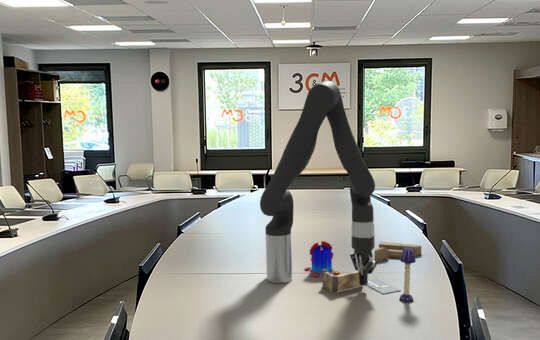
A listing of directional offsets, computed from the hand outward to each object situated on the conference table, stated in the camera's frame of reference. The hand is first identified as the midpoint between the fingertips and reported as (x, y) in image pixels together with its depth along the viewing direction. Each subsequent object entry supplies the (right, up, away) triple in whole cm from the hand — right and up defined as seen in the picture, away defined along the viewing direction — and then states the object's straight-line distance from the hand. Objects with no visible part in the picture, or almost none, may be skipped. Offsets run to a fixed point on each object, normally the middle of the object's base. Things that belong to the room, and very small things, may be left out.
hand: (363, 284), depth 161 cm
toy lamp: (+12, -3, -9) cm, 15 cm away
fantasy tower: (-12, -1, +22) cm, 25 cm away
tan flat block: (-11, -2, +3) cm, 12 cm away
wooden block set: (+21, +1, +38) cm, 44 cm away
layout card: (+6, -2, +4) cm, 8 cm away
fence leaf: (-5, -2, +2) cm, 5 cm away
